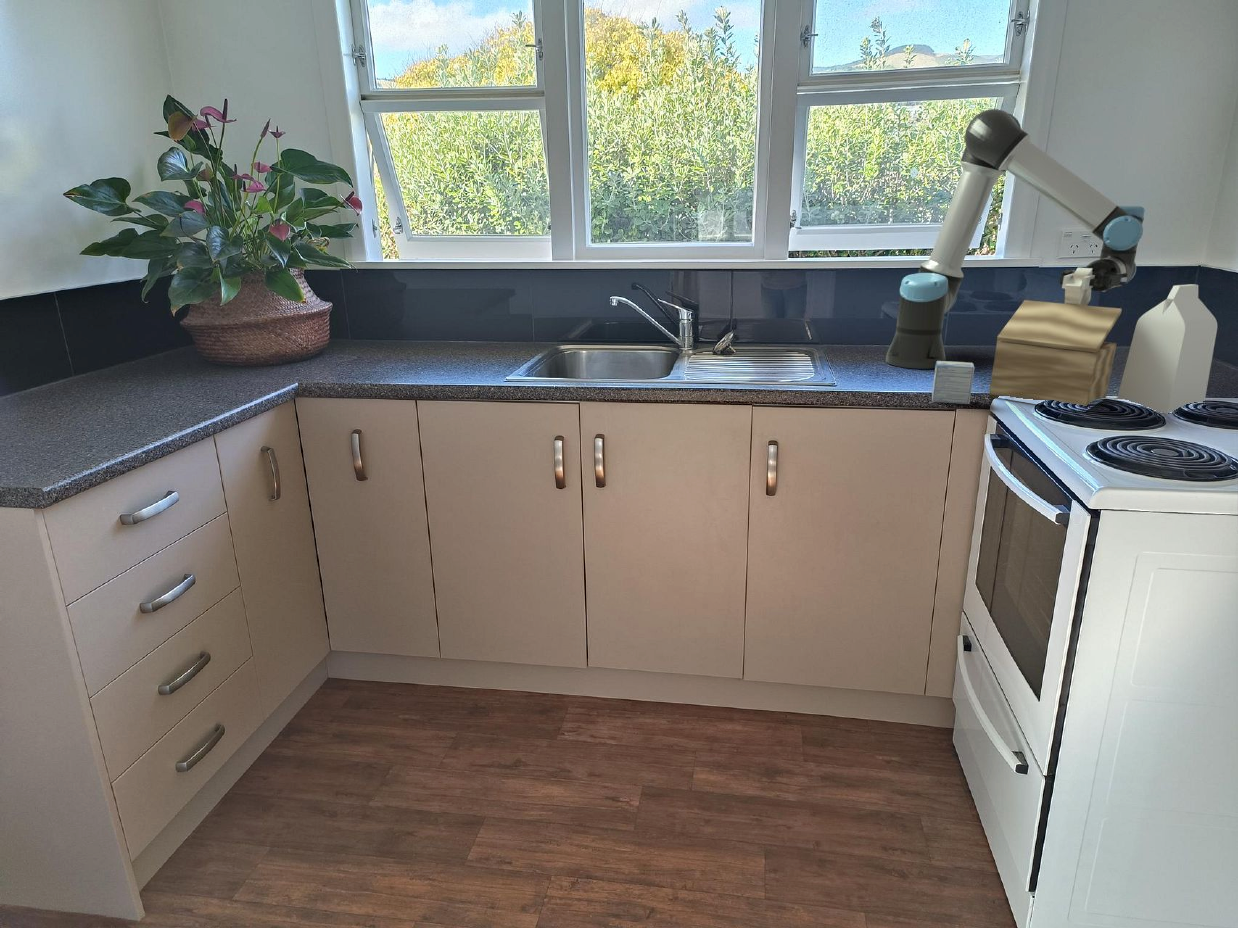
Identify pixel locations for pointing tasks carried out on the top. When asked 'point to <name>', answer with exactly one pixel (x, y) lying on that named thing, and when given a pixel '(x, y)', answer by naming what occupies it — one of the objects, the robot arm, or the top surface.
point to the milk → (1171, 353)
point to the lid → (1062, 320)
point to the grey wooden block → (953, 382)
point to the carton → (1051, 372)
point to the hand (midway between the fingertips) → (1074, 283)
